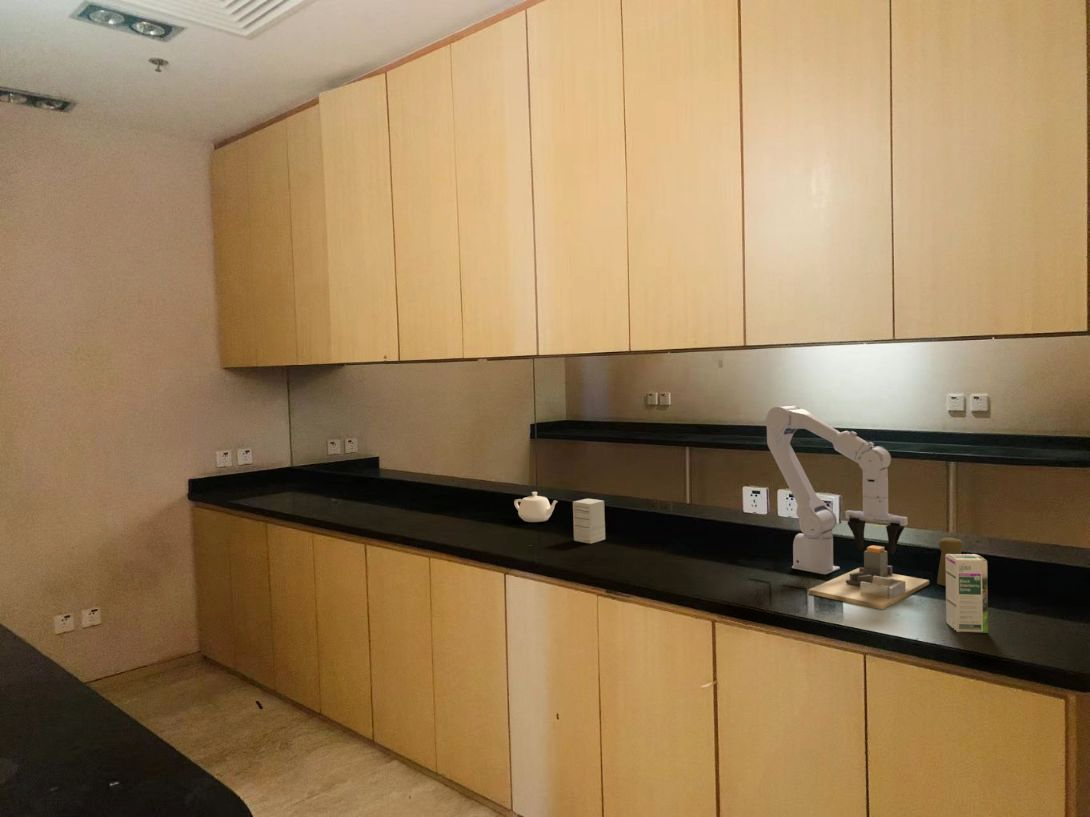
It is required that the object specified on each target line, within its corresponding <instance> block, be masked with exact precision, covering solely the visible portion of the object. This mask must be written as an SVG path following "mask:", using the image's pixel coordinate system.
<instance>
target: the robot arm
mask: <svg viewBox="0 0 1090 817" xmlns="http://www.w3.org/2000/svg"><path fill="white" fill-rule="evenodd" d="M764 424H765V427H766V442H767V443H766V444H767V447H768V449H769V451H770V453H771V454H772V457H773V459H774V460H775V463H776V465H777V466H778V468H779V471H780V472H781V474H782V476H783V478H784V481H785V482H786V484H787V487H788V488H789V490H790V492H791V493H792V496H793V498H794V500H795V502H796V504H797V507H796V515H797V518H798V522H799V524H798V525H799V529H800V530H801V533H800V532H799V533H797V534H796V535H795V537H794V539H793V544H792V555H793V558H792V560H793V565H792V566H791V568H792V569H795V570H800V571H806V572H810V573H815V574H820V575H827V574H830V573H831V574H832V573H833V572H835V571H838V570H840V569H841V568H840V566H837V565H834V534H833V529H835V528H836V527H837V526H836V525H837V522H838V520H837V517H836V514H835V512H834V511H833V510H831V509H830V508H829V507H828V506H827V504H826V502H825V501H824V500H823V499H821V498H820V497H819V496H818V495H817V493H816V492H815V489H814V487H813V486H812V484H811V482H810V480H809V478H808V476H807V475H806V472H805V470H804V468H803V466H802V464H801V462H800V461H799V459H798V457H797V455H796V453H795V451H794V449H793V447H792V445H791V442H792V441H791V440H792V439H793V436H794V433H796V431H797V430H799V429H801V430H802V429H805V430H807V431H809V432H811V433H813V434H815V435H816V436H819V437H820V438H822V439H825V440H827V441H828V442H830V443H832V446H833V449H834V450H835V451H836V452H838V453H839V454H841V455H843V456H845V457H847V459H850V460H852V462H855V463H857V464H858V466H859V468H861V470H862V510H851V509H850V510H845V511H844V516H845V520H848V521H847V526H848V527H849V529H850V531H851V532H852V535H853V537H854V541H855V543H856V547H857V550H863V549H864V548H865V527H866V522H873V523H882V524H888V525H886V526H885V529H886V533H887V541H888V542H887V548H888V550H887V553H888V555H893V554H896V551H897V550H896V549H897V545H898V542H899V539H900V537H901V535H902V533H903V531H904V529H905V526H908V523H909V521H908V519H909V518H908V516H901V515H896V514H892V513H889V478H888V475H889V473H888V467H889V466H890V464H891V463H892V456H891V453H890V452H889V451H888V450H887V449H886V448H885V447H884V446H880V445H879V446H874V445H875V443H874V442H872V441H869V442H868V441H866V440H865V439H863V438H861V437H859V436H857V435H858V433H857V432H855V431H853V430H852V431H848V430H845V431H841V432H840V431H839V430H837V429H836V428H834V427H833V426H831V425H829V424H828V423H826V422H824V421H823V420H821V419H819V417H817V416H815V415H813V414H812V413H810V412H809V411H808V410H806V409H804V408H801V407H799V406H798V405H793V404H791V405H786V406H774V407H772V408H770V409H769V411H768V412H767V415H766V417H765V419H764Z"/></svg>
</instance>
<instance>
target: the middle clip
mask: <svg viewBox="0 0 1090 817" xmlns="http://www.w3.org/2000/svg"><path fill="white" fill-rule="evenodd" d="M856 578H858V582H862V581H863V582H867V581H868V580H870V581H871V583H872V575H864V573H863V572H858V573H851V574H850V580H852V581H855V579H856Z"/></svg>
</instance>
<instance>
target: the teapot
mask: <svg viewBox="0 0 1090 817" xmlns="http://www.w3.org/2000/svg"><path fill="white" fill-rule="evenodd" d="M531 494H532V495H530V496H527V497H523V498H522V499H521V498H518V499H514V502H513V503H514V506H515V508H516V510H517V511H518V512H517V514H518V516H519V518H520V519H522V520H523V521H524V522H528V523H538V522H539V523H541V522H546V521H548V520H549V518H550V517H551V516H552V514H553V511H554V509H555V506H556V504H557V503H558V500H553V502H552V503H551V504H550V501H549V499H548V498H547V497H546V496H541V495H538V492H537V491H532V492H531Z"/></svg>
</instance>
